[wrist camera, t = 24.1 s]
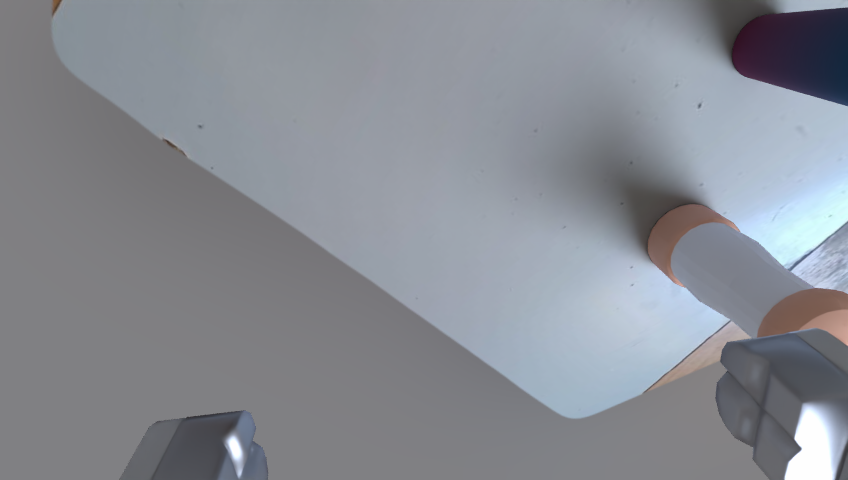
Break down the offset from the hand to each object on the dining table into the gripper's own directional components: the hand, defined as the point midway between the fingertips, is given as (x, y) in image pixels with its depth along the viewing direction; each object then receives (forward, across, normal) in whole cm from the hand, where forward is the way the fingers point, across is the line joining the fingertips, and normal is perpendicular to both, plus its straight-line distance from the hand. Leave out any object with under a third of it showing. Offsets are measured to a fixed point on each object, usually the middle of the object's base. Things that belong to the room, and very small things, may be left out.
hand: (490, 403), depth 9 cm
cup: (+37, -30, 0) cm, 48 cm away
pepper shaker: (+37, -25, +17) cm, 48 cm away
